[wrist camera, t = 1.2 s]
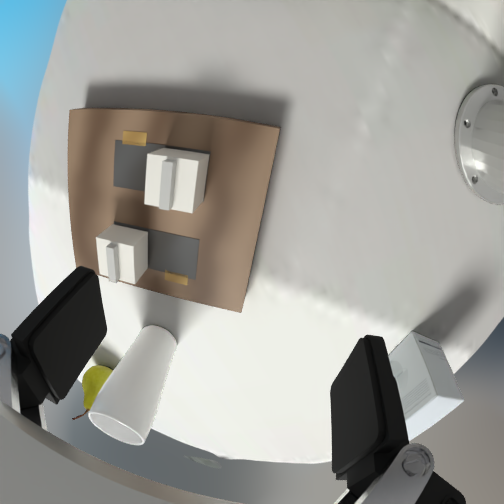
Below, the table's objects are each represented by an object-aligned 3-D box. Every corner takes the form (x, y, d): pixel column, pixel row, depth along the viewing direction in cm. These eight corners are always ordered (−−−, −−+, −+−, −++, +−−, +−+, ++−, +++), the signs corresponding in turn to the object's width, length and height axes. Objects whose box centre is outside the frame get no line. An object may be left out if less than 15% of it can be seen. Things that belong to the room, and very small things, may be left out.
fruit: (127, 368, 41) (98, 426, 31) (128, 388, 45) (103, 441, 34) (92, 351, 41) (58, 404, 31) (95, 373, 44) (67, 422, 34)
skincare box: (393, 387, 37) (406, 445, 28) (362, 378, 36) (372, 442, 27) (441, 342, 32) (466, 402, 23) (412, 329, 31) (436, 395, 22)
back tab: (147, 231, 26) (129, 250, 23) (147, 268, 28) (131, 289, 25) (112, 224, 26) (91, 241, 23) (114, 259, 28) (95, 278, 25)
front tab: (209, 154, 22) (195, 163, 19) (203, 201, 24) (189, 217, 21) (163, 147, 22) (142, 155, 19) (159, 192, 24) (139, 207, 21)
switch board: (280, 127, 23) (279, 128, 21) (244, 298, 32) (241, 313, 29) (84, 107, 23) (69, 109, 21) (87, 258, 32) (76, 268, 30)
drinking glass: (127, 325, 36) (76, 411, 23) (162, 313, 34) (110, 411, 21) (157, 358, 39) (119, 444, 26) (193, 349, 37) (157, 447, 23)
